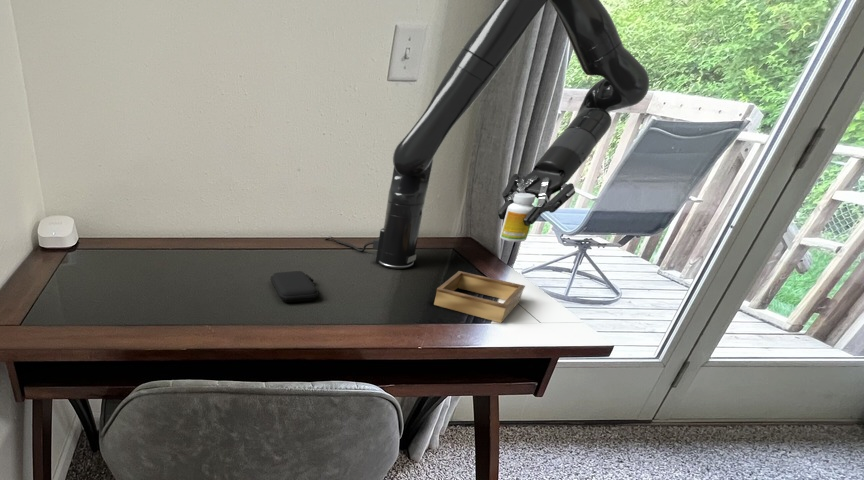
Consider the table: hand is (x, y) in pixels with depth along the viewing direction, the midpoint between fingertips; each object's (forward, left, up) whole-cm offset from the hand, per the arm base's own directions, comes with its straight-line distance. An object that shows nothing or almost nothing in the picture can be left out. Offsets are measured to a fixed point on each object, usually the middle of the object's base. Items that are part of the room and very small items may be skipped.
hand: (513, 220), depth 105 cm
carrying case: (-38, -28, -18) cm, 51 cm away
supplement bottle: (+1, +2, -5) cm, 5 cm away
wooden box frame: (-1, -8, -18) cm, 19 cm away
